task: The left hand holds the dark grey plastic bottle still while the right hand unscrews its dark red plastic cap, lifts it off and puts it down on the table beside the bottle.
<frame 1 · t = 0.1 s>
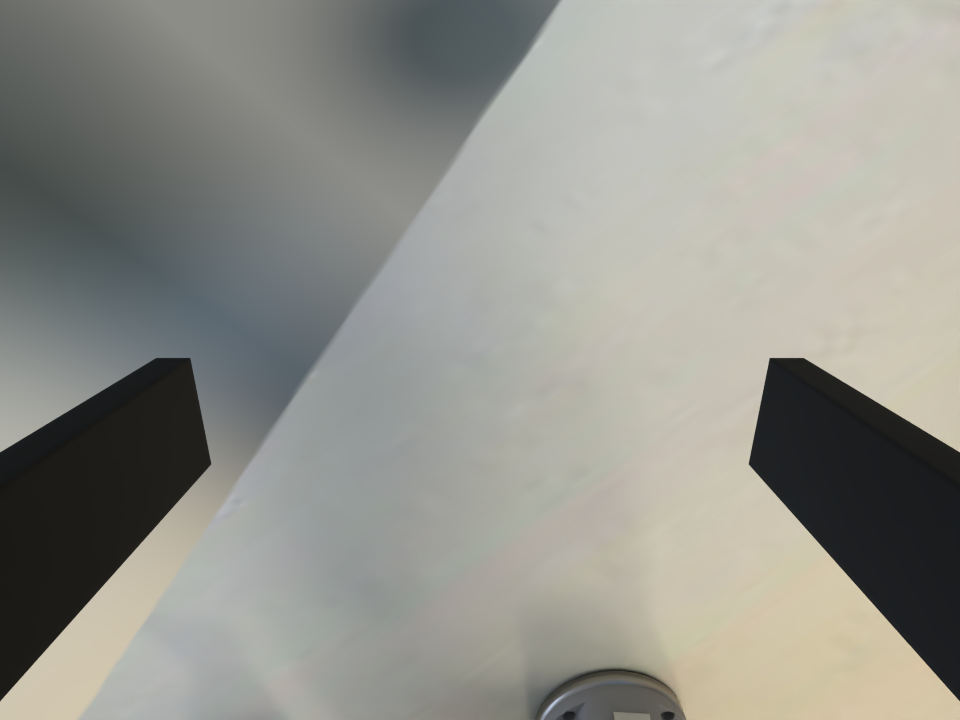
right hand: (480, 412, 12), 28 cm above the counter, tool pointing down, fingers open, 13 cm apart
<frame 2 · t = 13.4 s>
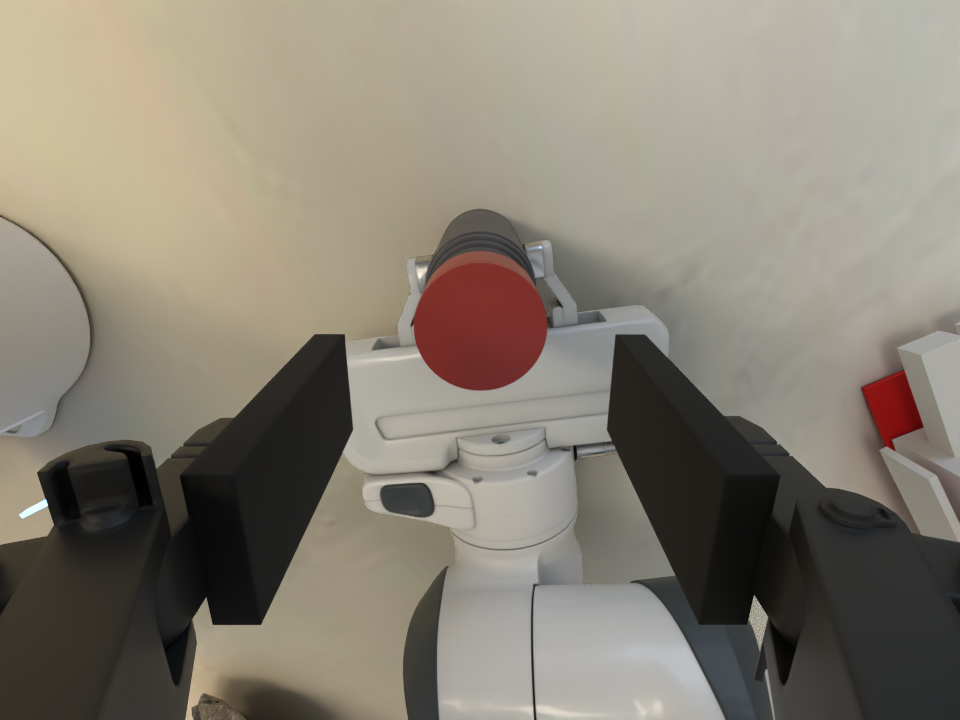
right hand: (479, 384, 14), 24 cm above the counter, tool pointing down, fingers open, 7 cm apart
left hand: (477, 250, 30), fingers closed on bottle, 5 cm apart
cap: (480, 327, 19), point 18 cm above the counter, screwed on, not yet turned
bottle: (480, 248, 36), on the counter, touching left hand
toy: (945, 479, 42), on the counter
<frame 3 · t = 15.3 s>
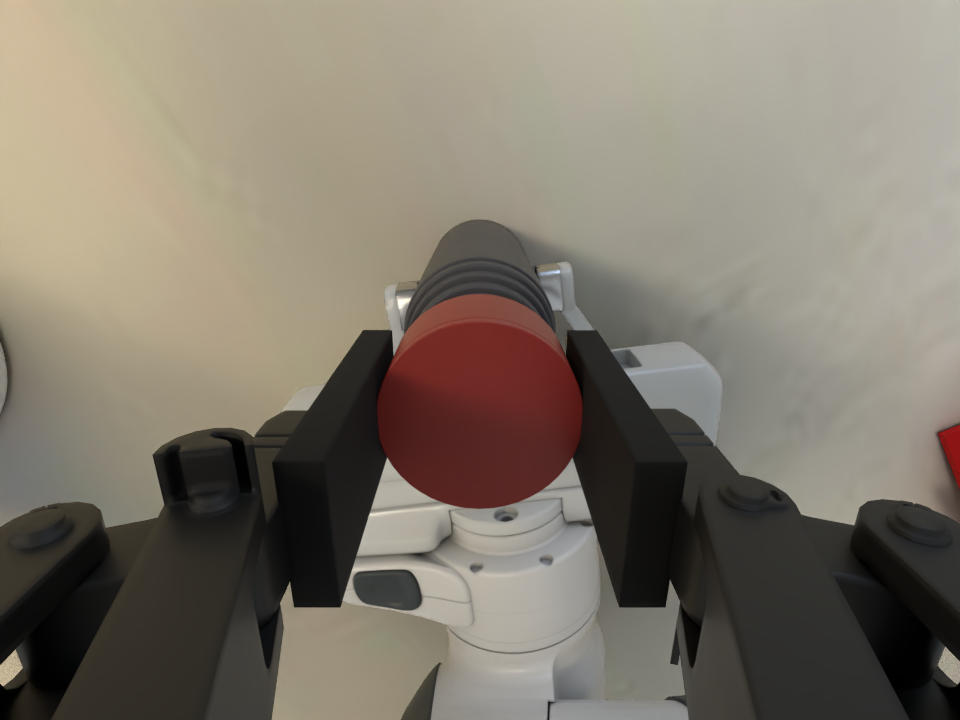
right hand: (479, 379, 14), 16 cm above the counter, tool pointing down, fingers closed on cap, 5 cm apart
cap: (479, 415, 12), point 18 cm above the counter, screwed on, not yet turned, touching right hand
bottle: (479, 267, 29), on the counter, touching left hand
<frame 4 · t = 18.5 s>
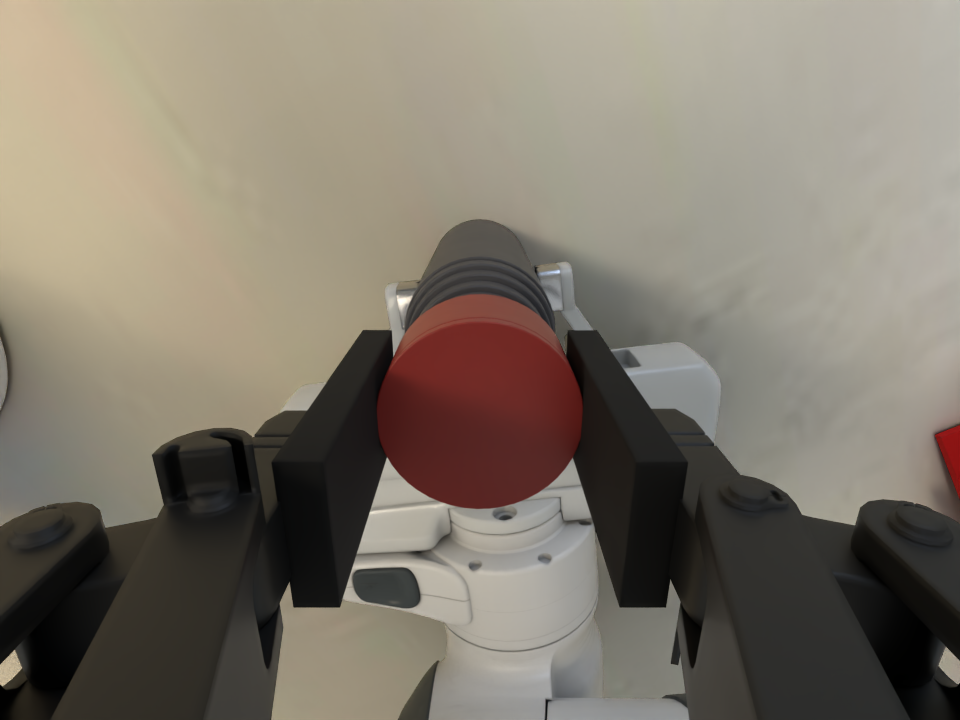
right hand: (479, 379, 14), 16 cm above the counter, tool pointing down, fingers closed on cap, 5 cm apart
cap: (479, 415, 12), point 18 cm above the counter, turned 119° so far, risen 0.1 cm, still on its thread, touching right hand
bottle: (479, 267, 30), on the counter, touching left hand
when the right hand's fingers open (2 cm above the counter, at t = 32.7 s): cap drops 2 cm, point 2 cm above the counter.
when the left hand's fingers open (7 cm above the counter, at t = 34.0 s): bottle stays where it is, on the counter.
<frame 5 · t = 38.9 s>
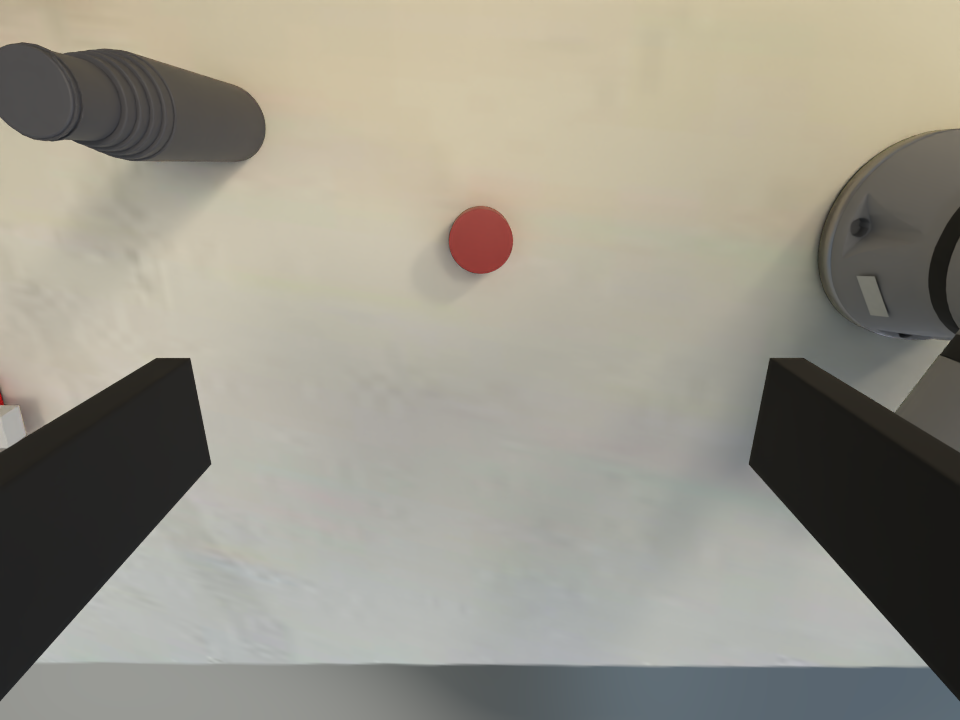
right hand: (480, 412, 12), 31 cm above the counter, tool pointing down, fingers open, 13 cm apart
cap: (480, 241, 39), point 2 cm above the counter, off its thread
bottle: (229, 123, 38), on the counter
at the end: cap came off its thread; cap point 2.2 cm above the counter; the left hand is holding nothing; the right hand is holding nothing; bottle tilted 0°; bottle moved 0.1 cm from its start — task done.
